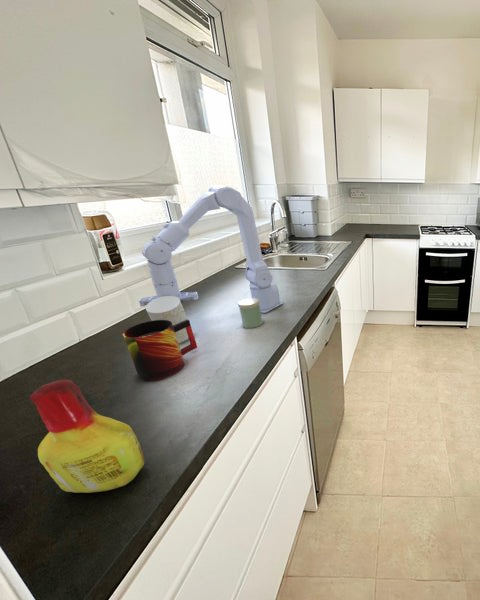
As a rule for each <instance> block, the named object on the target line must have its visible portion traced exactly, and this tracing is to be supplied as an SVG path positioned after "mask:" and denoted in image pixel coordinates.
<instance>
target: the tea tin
mask: <svg viewBox="0 0 480 600" xmlns="http://www.w3.org/2000/svg"><path fill="white" fill-rule="evenodd" d="M259 304H260V303H259V299H257V298H252V297H249V298H244V299H241V300H239V301H238V302H237V305H238V308H239V312H240V317H241V322H242V325H243V326H242V327H243V328H246V329H252V328H257V327H260V326H261V325H263V322H264V321H263V317H262V313H261V311H260V305H259Z"/></svg>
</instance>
